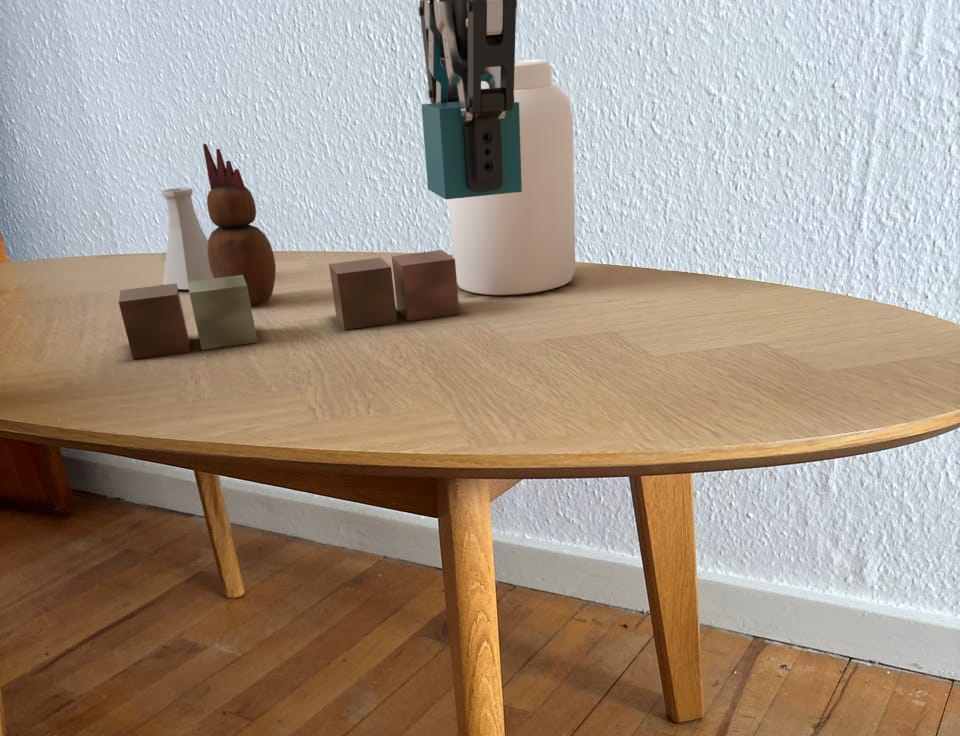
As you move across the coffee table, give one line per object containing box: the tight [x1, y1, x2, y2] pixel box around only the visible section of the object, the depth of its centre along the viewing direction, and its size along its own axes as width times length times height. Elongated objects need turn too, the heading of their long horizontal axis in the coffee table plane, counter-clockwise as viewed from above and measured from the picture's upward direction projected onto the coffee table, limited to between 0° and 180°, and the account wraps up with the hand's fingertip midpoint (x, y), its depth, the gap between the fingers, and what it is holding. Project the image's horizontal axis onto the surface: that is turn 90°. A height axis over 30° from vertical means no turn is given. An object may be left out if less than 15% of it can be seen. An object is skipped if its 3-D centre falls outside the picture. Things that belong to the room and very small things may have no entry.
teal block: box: [420, 101, 522, 200], centre depth 63 cm, size 5×5×5 cm
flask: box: [160, 187, 214, 290], centre depth 111 cm, size 7×7×10 cm
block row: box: [118, 249, 460, 360], centre depth 92 cm, size 30×5×5 cm, turn 106°
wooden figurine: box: [202, 143, 277, 307], centre depth 100 cm, size 7×6×15 cm
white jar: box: [448, 59, 576, 296], centre depth 98 cm, size 12×12×20 cm
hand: (473, 183), depth 64 cm, fingers closed on teal block, 5 cm apart
